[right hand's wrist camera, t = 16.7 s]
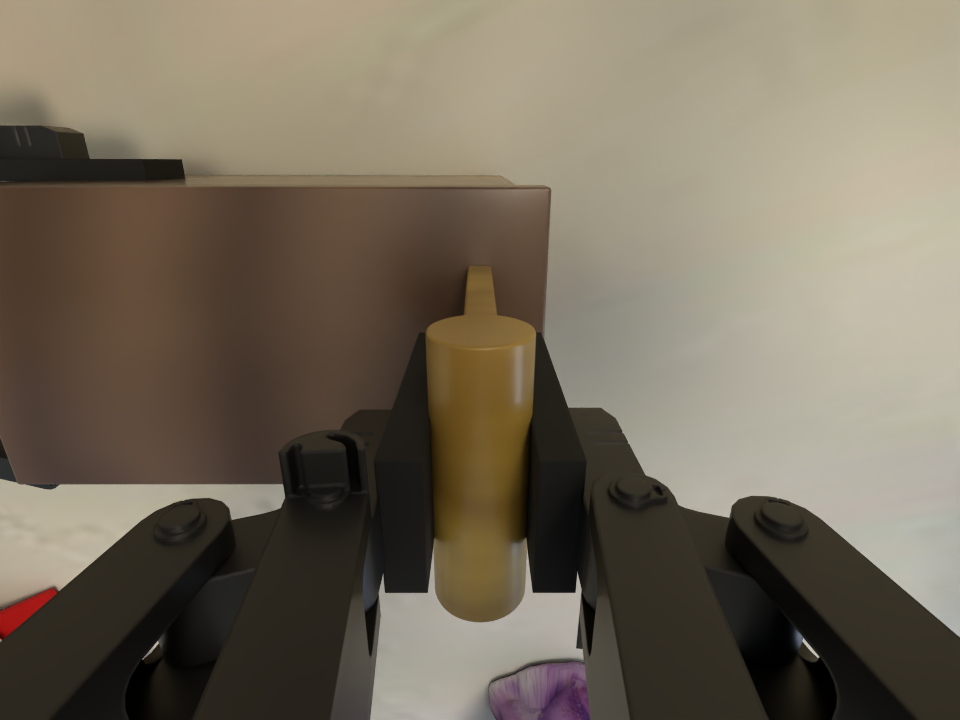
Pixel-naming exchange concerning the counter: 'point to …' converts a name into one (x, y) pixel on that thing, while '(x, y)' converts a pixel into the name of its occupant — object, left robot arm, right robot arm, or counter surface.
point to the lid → (279, 341)
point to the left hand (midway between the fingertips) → (192, 302)
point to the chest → (291, 180)
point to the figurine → (542, 693)
